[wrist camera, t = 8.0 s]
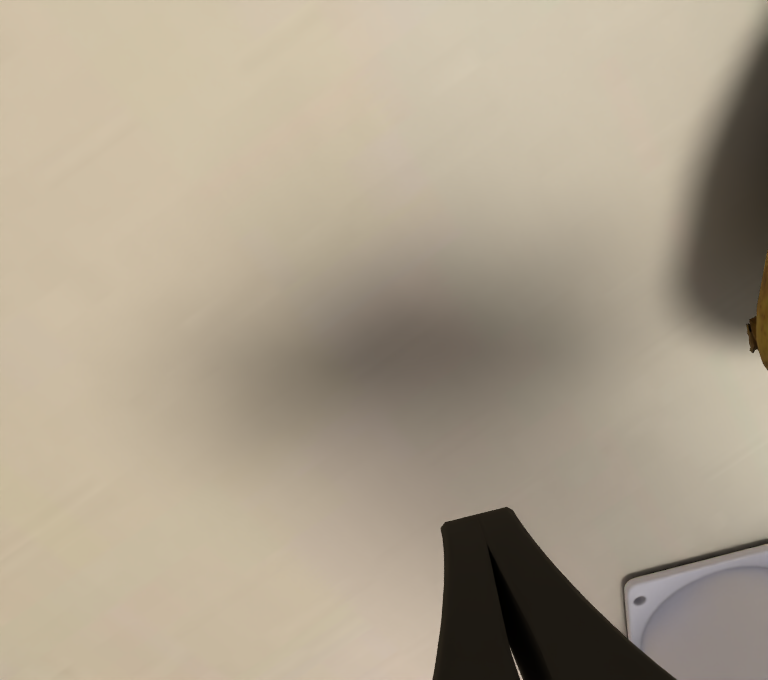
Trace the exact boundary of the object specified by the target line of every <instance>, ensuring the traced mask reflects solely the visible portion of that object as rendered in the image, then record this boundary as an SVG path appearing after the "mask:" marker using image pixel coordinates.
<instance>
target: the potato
mask: <svg viewBox="0 0 768 680" xmlns="http://www.w3.org/2000/svg"><path fill="white" fill-rule="evenodd" d="M749 322H750V324H748V325H747V324H746V325H747V334H748V336H749V344H750V347H751V348H750V351H751V352H752V353H754V351H755V350H756V349H758V351H759V353H760V356H761V359H762V362H763V364H764V366H765V367H766V369H767V370H768V251H767V256H766V261H765V266H764V271H763V277H762V282H761V288H760V293H759V298H758V303H757V316H755V317H754V318H752V319H749Z"/></svg>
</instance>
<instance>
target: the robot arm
mask: <svg viewBox="0 0 768 680" xmlns="http://www.w3.org/2000/svg"><path fill="white" fill-rule="evenodd" d="M441 533H442V538H443V547H444V592H443V606H442V619H441V628H440V635H439V642H438V649H437V656H436V663H435V669H434V675H433V680H520V678H519V675H518V672H517V669H516V666H515V663H514V660H513V657H512V653H513V656H514V658H515V661H516V663H517V666H518V668H519V671H520V673H521V675H522V678H523V680H768V544H764V545H760V546H757V547H753V548H749V549H745V550H741V551H737V552H733V553H729V554H725V555H721V556H718V557H714V558H710V559H706V560H702V561H698V562H694V563H690V564H686V565H682V566H679V567H675V568H671V569H667V570H663V571H659V572H655V573H651V574H647V575H643V576H640V577H636V578H633V579H630V580H629V581H628V582H627V583H626V584H625V587H624V595H625V607H626V618H627V630H628V638H627V637H625V636H624V635H623V634H622V633H621V632H620V631H619V630H618V629H617V628H616V627H614V626H613V625H612V624H611V623H610V622H609V621H608V620H607V619H606V618H605V617H604V616H603V615H602V614H601V613H600V612H599V611H598V610H597V609H596V608H595V607H594V606H593V605H592V604H591V603H590V602H589V601H588V600H587V599H586V598H585V597H584V596H583V595H582V594H581V593H580V592H579V591H578V590H577V589H576V588H575V587H574V586H573V585H572V584H571V582H570V581H569V580H568V579H567V578H566V577H565V576H564V575H563V574H562V573H561V572H560V571H559V569H558V568H557V567H556V566H555V565H554V564H553V563H552V562H551V560H550V559H549V558H548V557H547V556H546V554H545V553H544V552H543V551H542V550H541V548H540V547H539V546H538V545H537V543H536V542H535V541H534V540H533V538H532V537H531V536H530V534H529V533H528V532H527V530H526V529H525V528H524V526H523V525H522V523H521V522H520V521H519V519H518V518H517V516H516V515H515V513H514V511H513V510H512V509H510V508H508V507H504V508H500V509H496V510H492V511H488V512H484V513H480V514H476V515H472V516H468V517H464V518H460V519H456V520H452V521H448V522H445V523H444V524H443V526H442V527H441ZM510 648H511V650H510ZM511 651H512V653H511Z"/></svg>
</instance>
